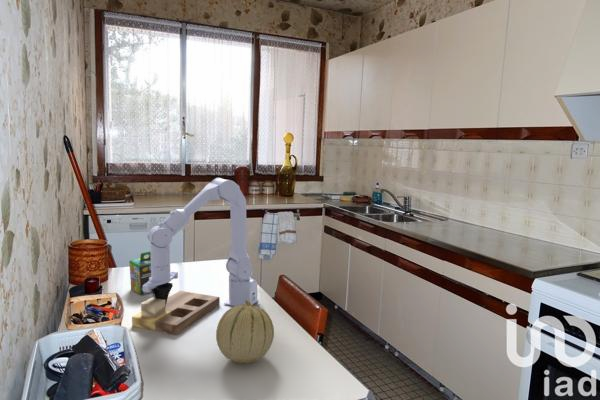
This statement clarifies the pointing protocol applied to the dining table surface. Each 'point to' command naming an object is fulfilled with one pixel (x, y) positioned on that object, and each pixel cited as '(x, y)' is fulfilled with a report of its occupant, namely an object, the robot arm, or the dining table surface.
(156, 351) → the dining table surface
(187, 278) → the dining table surface
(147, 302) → the maple block
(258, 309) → the cantaloupe
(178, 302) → the board
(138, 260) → the chalk box
